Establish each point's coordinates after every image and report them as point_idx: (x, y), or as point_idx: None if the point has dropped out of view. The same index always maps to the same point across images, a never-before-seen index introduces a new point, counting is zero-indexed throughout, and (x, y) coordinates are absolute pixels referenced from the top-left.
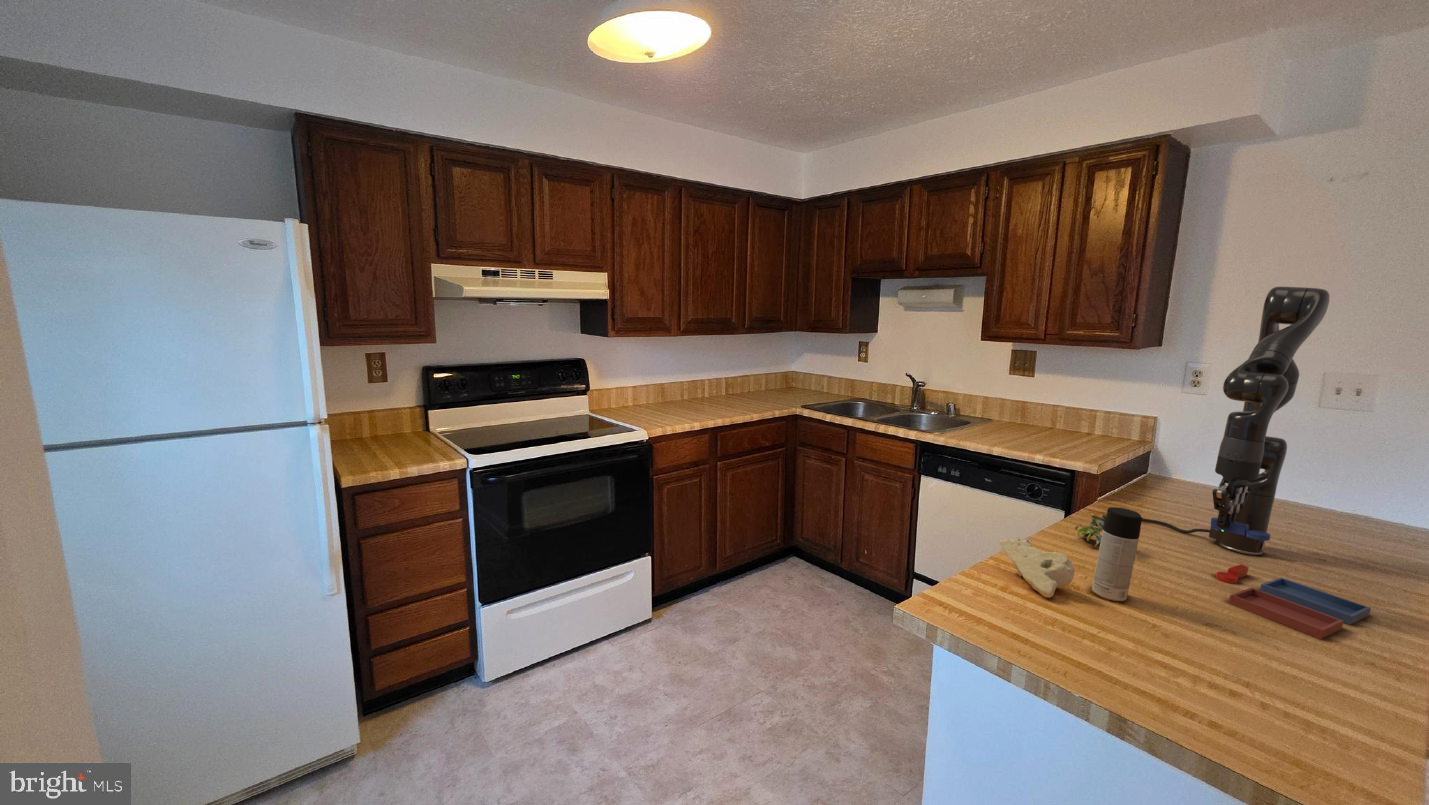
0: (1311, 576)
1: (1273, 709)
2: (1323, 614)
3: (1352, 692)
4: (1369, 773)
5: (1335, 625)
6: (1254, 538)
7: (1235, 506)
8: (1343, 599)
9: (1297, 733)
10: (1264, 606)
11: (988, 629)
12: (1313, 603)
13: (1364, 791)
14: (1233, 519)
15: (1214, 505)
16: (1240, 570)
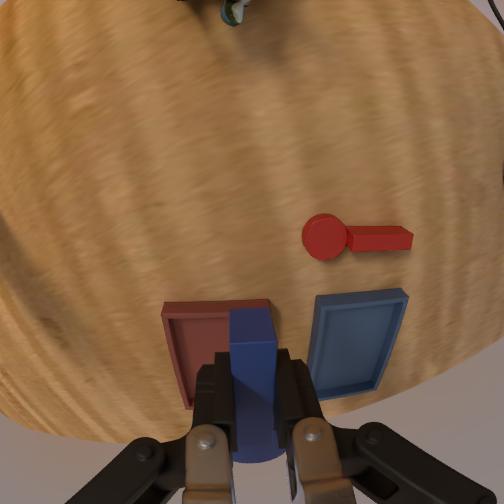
0: (482, 281)
1: (4, 388)
2: None
3: (89, 421)
4: (18, 419)
5: None
6: None
7: (289, 484)
8: (380, 370)
9: (3, 398)
10: (217, 339)
11: None
12: (310, 370)
13: (6, 416)
14: (274, 418)
15: (112, 463)
16: (372, 250)
